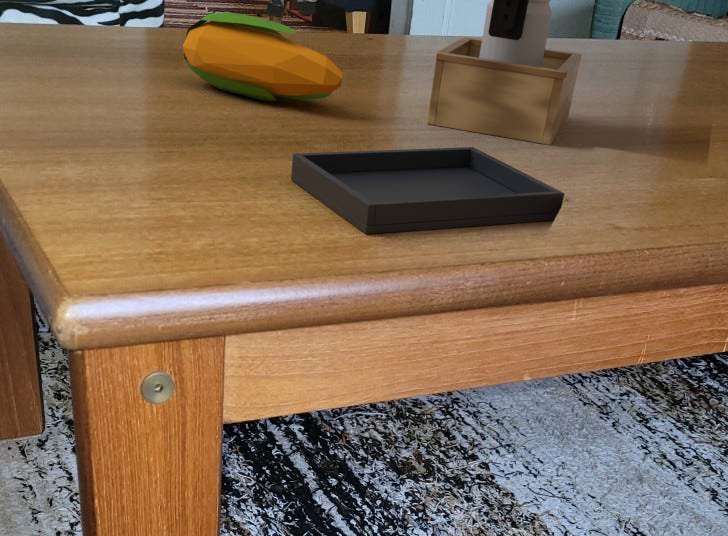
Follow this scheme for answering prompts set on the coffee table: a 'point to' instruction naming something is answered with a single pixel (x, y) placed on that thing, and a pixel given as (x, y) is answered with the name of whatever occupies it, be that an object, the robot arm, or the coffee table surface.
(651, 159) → the coffee table surface
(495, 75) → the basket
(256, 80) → the corn
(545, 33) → the beverage can
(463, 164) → the tray
